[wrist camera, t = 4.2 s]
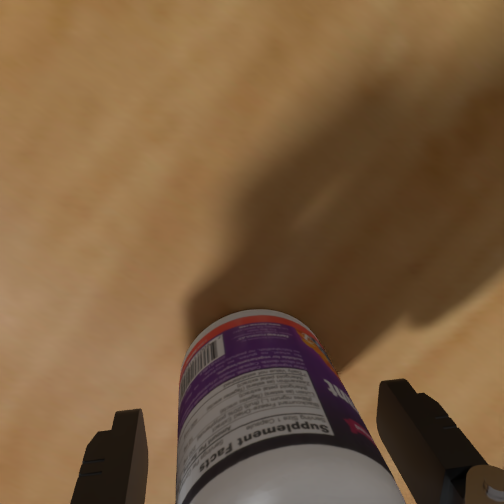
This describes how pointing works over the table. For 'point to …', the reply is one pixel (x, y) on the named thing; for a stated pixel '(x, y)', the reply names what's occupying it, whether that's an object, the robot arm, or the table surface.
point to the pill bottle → (271, 421)
